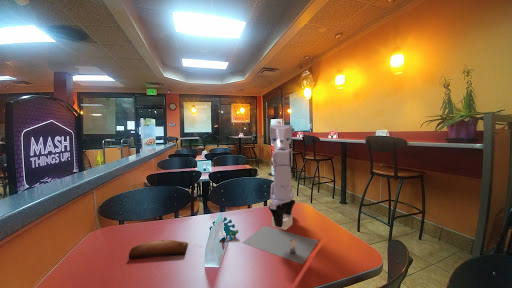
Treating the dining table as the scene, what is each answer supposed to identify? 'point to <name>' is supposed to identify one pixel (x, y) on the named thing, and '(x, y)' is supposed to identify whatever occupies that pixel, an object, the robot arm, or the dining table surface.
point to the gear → (228, 229)
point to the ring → (284, 222)
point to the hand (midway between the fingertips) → (282, 223)
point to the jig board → (281, 243)
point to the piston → (292, 246)
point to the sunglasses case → (158, 248)
